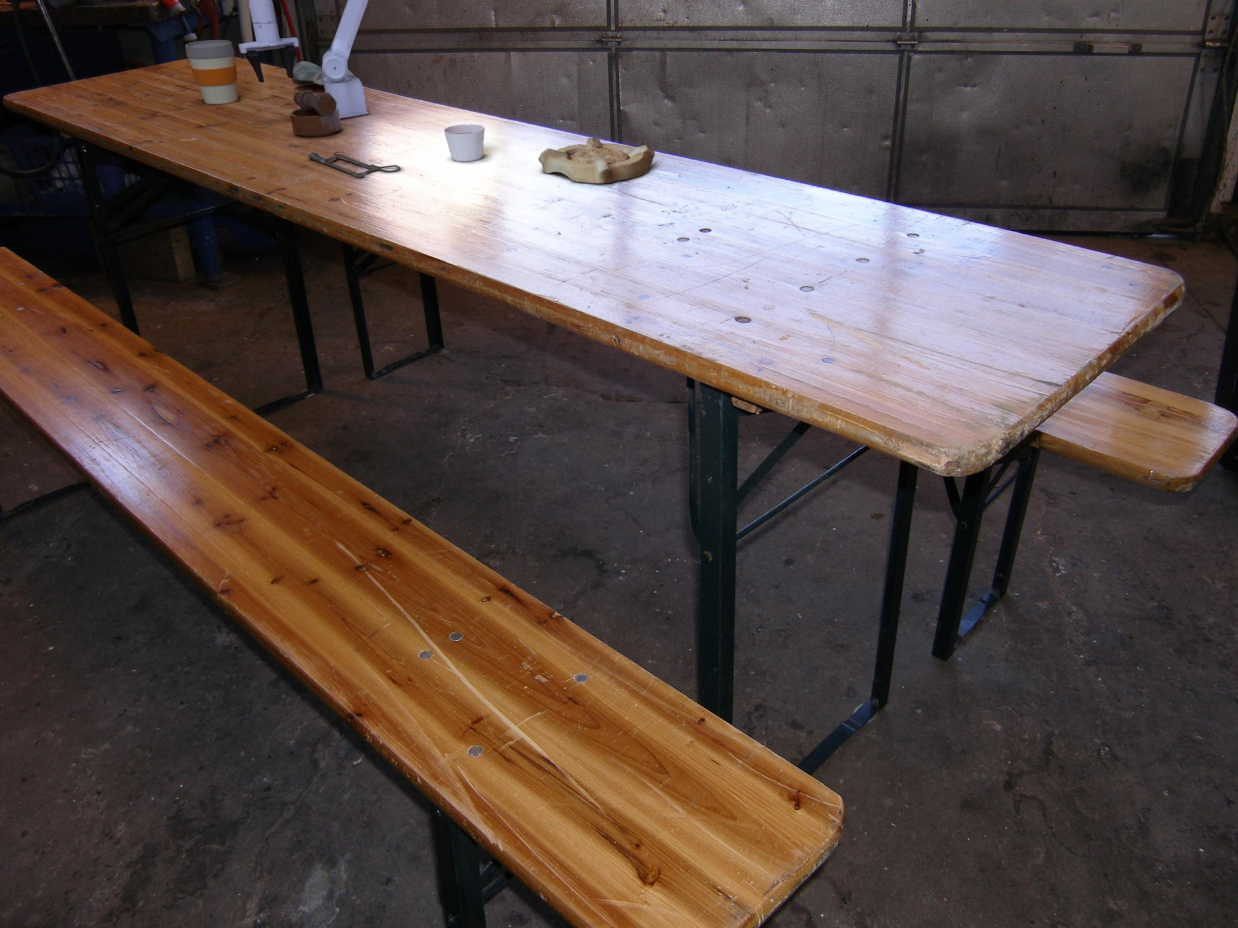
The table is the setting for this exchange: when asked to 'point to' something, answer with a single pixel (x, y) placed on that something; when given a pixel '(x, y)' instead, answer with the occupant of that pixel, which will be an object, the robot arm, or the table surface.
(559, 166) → the ashtray
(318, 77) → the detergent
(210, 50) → the reusable coffee cup
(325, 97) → the bolt
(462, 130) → the white tapered cup
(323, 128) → the bowl
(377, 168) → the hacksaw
